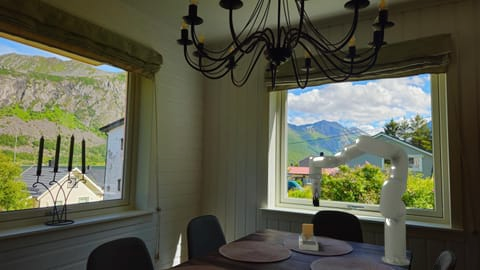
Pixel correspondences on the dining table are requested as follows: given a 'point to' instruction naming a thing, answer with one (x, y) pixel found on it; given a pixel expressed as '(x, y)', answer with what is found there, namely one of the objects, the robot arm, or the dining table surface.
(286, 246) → the dining table surface
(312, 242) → the breaker panel
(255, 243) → the dining table surface
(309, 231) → the breaker lever
